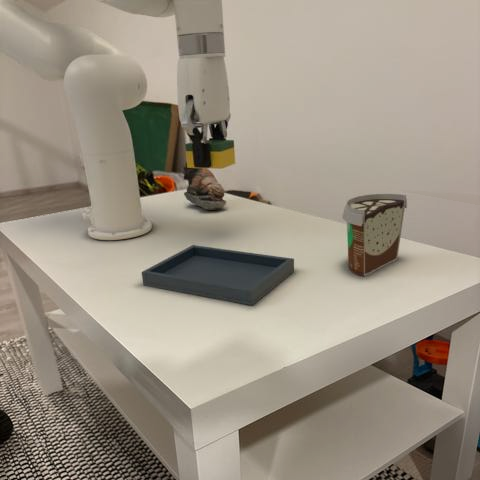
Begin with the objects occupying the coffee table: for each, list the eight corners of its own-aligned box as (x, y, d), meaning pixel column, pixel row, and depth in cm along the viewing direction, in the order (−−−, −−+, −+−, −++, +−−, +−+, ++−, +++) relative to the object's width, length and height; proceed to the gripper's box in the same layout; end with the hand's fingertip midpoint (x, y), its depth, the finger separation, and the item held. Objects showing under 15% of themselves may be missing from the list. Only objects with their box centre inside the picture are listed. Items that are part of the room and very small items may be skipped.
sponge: (187, 167, 90) (184, 144, 88) (201, 162, 94) (199, 139, 92) (221, 168, 87) (220, 144, 85) (235, 163, 91) (233, 140, 89)
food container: (368, 249, 86) (372, 189, 81) (402, 257, 82) (408, 194, 77) (324, 270, 78) (325, 205, 74) (358, 279, 74) (362, 211, 70)
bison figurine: (233, 208, 115) (230, 162, 110) (207, 215, 111) (204, 167, 106) (202, 200, 123) (198, 157, 119) (177, 206, 119) (173, 162, 115)
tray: (143, 285, 76) (141, 272, 75) (193, 256, 87) (192, 244, 86) (252, 305, 68) (251, 291, 67) (294, 271, 78) (294, 258, 77)
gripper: (208, 49, 91) (216, 156, 99) (151, 50, 77) (166, 172, 85) (245, 46, 87) (251, 156, 95) (193, 46, 74) (204, 174, 82)
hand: (211, 163), depth 90 cm, fingers closed on sponge, 5 cm apart
